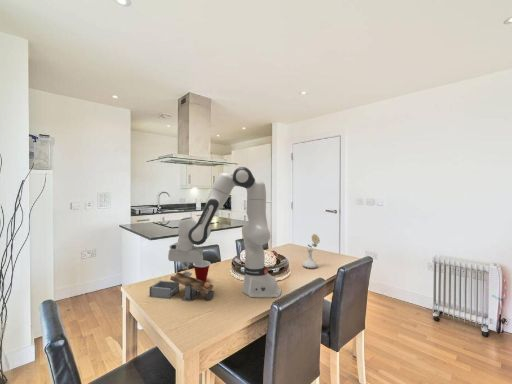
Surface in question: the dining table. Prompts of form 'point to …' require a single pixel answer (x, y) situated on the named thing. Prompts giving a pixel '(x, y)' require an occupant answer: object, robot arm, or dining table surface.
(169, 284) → the grey open box
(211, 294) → the rest block
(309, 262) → the flower in vase
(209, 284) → the ball
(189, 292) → the fulcrum
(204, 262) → the plastic cup
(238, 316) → the dining table surface
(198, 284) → the lever
